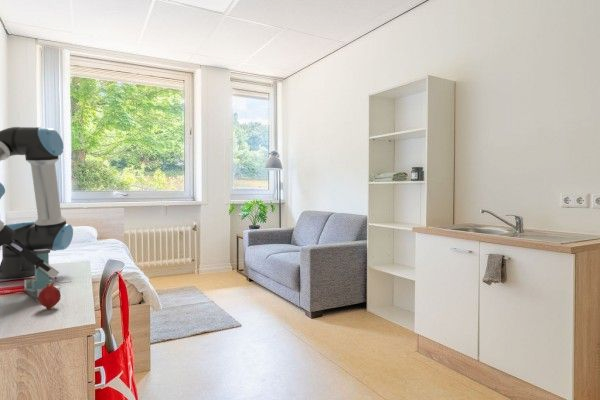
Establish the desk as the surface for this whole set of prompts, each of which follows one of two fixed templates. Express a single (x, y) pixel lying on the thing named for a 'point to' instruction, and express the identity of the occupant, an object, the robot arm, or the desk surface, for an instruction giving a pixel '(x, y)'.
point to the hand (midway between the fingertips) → (54, 274)
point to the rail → (31, 291)
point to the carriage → (41, 276)
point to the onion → (49, 296)
